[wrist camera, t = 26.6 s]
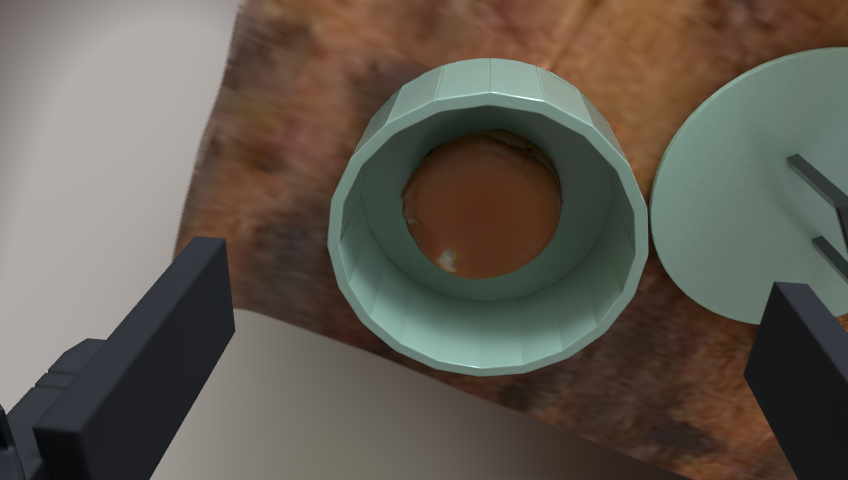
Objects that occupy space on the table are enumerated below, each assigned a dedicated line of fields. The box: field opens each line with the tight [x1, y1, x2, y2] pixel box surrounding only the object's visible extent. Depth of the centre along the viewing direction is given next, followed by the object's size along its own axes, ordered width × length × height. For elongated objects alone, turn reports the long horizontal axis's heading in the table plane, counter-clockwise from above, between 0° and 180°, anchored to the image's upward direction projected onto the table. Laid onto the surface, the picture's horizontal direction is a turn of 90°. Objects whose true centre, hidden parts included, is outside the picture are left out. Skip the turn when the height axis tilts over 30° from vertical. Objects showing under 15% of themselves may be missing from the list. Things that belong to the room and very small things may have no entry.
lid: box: [649, 47, 848, 325], centre depth 38 cm, size 18×18×9 cm
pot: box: [327, 58, 648, 377], centre depth 40 cm, size 17×17×8 cm
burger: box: [401, 129, 563, 280], centre depth 41 cm, size 10×9×5 cm
